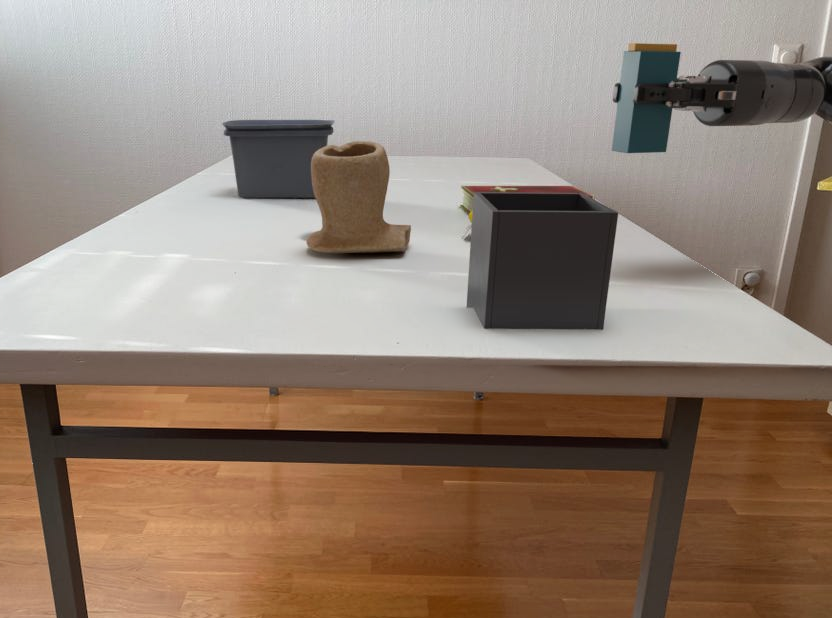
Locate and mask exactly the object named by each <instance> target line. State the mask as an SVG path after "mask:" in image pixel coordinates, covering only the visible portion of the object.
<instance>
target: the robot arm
mask: <svg viewBox="0 0 832 618" xmlns="http://www.w3.org/2000/svg"><path fill="white" fill-rule="evenodd" d="M619 87H620V82H616V83H615V84H614V86H613V93H612V102H613V103H615V104H617V103H618V95H619ZM663 101H664V104H663ZM633 103H634V104H663V105H667V106H666V107H671V106H673V108H672V109H674V110H675V111H681V112H682V111H683V112H684V111H688V112H689V111H690V112H692V113H693V114H694V117H695V118H696V120H697V121H698V122H700V123H701V124H702V125H705V126H707V127H750V126H752V127H753V126H761V125H764V124H789V123H798V122H801V121H802V122H803V121H805V120H807V119H809V118H811V117H812V116H813V115H815V116H817V117H819V118H820V119H823V120H824V121H826V122H828V123H830V124H832V56H820V57H816V58H812V59H808V60H805V61H802V62H800V63H786V62H785V63H782V62H781V63H779V62H772V61H769V60H753V59H751V60H750V59H749V60H747V59H746V60H745V59H743V60H742V59H717V60H714V61H712V62H710V63H708V64H707V65H706V66H704V67H702V69H701V70H700V71H699V73H698V75H680V76H677V81H676V83H675V82H672V81H670V83H666V84H636V86H635V88H634V95H633Z"/></svg>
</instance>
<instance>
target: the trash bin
mask: <svg viewBox="0 0 832 618" xmlns="http://www.w3.org/2000/svg"><path fill="white" fill-rule="evenodd" d="M618 219H619V212H618V211H616V210H614V209H613V208H611V207H609V206H608V205H605V204H604V203H602V202H600V201H598V200H597V199H595V200H594V199H593V198H591V197H589V196H587V195H585V194H583V193H519V192H474V199H473V214H472V229H471V232H470V245H469V247H470V248H469V259H468V260H469V262H468V278H467V293H466V296H467V297H466V306H465V307H466V308H467V309H471V308H472V309H473V310H474V312H475V313H476V316H477V317H478V320H479V321H480V323H481V325H482V327H483V329H485V330H488V329H489V330H490V329H491V330H494V329H495V330H597V331H598V330H600V331H601V330H602V331H603V330H604V325H605V318H606V312H607V311H606V309H607V303H608V294H609V288H610V280H611V272H612V264H613V263H612V262H613V256H614V249H615V244H616V243H615V242H616V234H617V227H618Z"/></svg>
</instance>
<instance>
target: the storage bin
mask: <svg viewBox="0 0 832 618" xmlns="http://www.w3.org/2000/svg"><path fill="white" fill-rule="evenodd" d="M334 124H335V120H334V119H234V120H227V121H224V122H222V123H221V125H222V126H223V127H224V128H225V129H224V130H223V136H225V137H229V142H230V149H231V154H232V155H231V156H232V162H233V168H234V169H233V170H234V176H235V182H236V183H235V184H236V189H237V195H238V197H239V198H243V199H247V198H248V199H260V198H261V199H262V198H263V199H268V198H271V199H273V198H277V199H279V198H282V199H284V198H286V199H287V198H293V199H295V198H299V199H300V198H307V199H310V198H315V195H314V191H313V186H312V176H311V160H312V157H313V155H314V153H315V152H316V151H317V150H319V149H321V148H323V147H325V146H328V141H329V136H332V135H333V133H334V132H335V130H334V127H333V125H334ZM315 199H316V198H315Z"/></svg>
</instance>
